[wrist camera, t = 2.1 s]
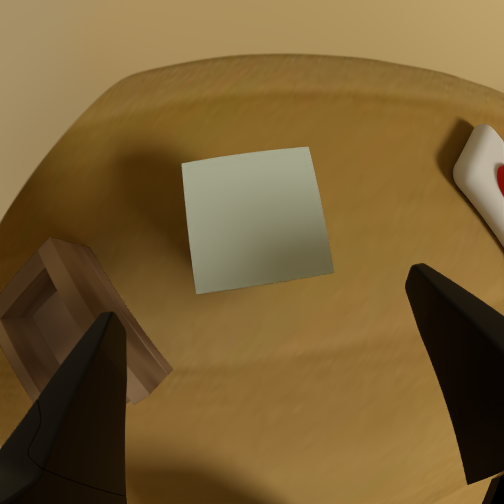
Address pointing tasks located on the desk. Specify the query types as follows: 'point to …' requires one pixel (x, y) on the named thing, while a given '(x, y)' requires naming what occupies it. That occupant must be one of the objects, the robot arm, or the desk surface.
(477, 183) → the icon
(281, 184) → the clay bar
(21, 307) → the wooden channel cradle
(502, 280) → the desk surface
